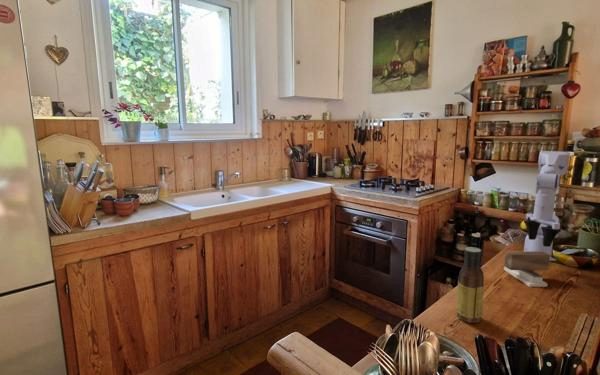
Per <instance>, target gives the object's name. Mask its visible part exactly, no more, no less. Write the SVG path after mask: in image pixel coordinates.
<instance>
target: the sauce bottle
mask: <svg viewBox="0 0 600 375" xmlns="http://www.w3.org/2000/svg"><path fill="white" fill-rule="evenodd" d="M463 250H464V251H463V253H464V261H463V266H462V267H461V269H460V271H459V273H458V274H459V275H458V278H457V279H458V280H457V296H456V297H457V299H456V300H457V301H456V312H457V317H458V318H459V319H460V320H461V321H463V322H465V323H470V324H478V323H480V322H481V321H482V316H483V307H484V306H483V304H484V291H485V290H484V289H485V284H484V279H485V276H484V275H485V274H484V271H483V269H482V267H481V256H482V249H481V248H479V247H473V246H467V247H465V248H464V249H463Z"/></svg>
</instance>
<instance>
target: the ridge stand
mask: <svg viewBox="0 0 600 375" xmlns="http://www.w3.org/2000/svg"><path fill="white" fill-rule="evenodd" d="M503 270H504V271H506V272H507V273H508V274H510V275H511V276H513V277H514V278H515V279H517V280H518V281H520V282H522V284H524V285H526V286H528V287H530V288H531V287H533V288H534V287H536V288H541V287H543V288H545V287H547V288H548V283H547V282H545V281H544V280H543V276H542V275H541V274H540V273H537V272H536V271H535V270H509V269H508V268H506V267H505V266H503Z"/></svg>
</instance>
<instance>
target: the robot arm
mask: <svg viewBox="0 0 600 375" xmlns="http://www.w3.org/2000/svg"><path fill="white" fill-rule="evenodd" d="M570 154H571V153H570V151H558V150H557V151H554V150H553V151H551V150H550V151H549V150H540V152H539V155H538V161H537V163H538V172H539V173H537V175H536V178H535V199H534V206H533V213H530V212H529V213H525V219H524V220H523V223H524V225H525V228H526V231H527V235H526V236H525V238H524V246H523V251H543V252H545V253H547V254H549V255H550V259H549V262H556V261H557V259H556V258H554V257H552V252H553V244H554V240H555V238H558V237H559V233H560V232H561V230H562V229H561V223H560V217H558V216H557V215H556V214H554V210H555V209H554V208H555V203H556V194H557V190H558V189H559V184H560V177H561V176H563V175H565V174H566V173H567V172H568V167H569V163H570V156H571V155H570Z"/></svg>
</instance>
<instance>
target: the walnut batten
mask: <svg viewBox="0 0 600 375" xmlns="http://www.w3.org/2000/svg"><path fill="white" fill-rule="evenodd" d="M549 259H550V255H549V254H547V253H545V252H543V251H524V250H522V251H520V250H519V251H517V250H516V251H515V250H514V251H513V250H512V251H511V250H508V251H505V259H504V264H503V265H504V266H503V267H506V268H508V269H509V270H533V271H548V270H549V264H550V261H549Z"/></svg>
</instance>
